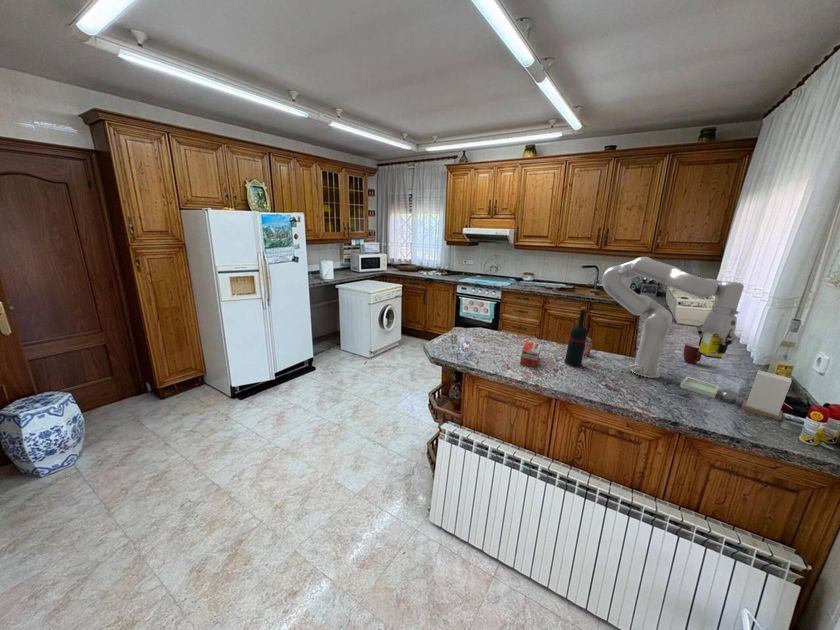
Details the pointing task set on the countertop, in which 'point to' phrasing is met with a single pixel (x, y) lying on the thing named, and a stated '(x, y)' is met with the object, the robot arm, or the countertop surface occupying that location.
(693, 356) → the mug
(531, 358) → the medicine box
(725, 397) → the steel bushing
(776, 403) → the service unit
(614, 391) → the countertop surface
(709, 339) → the supplement box
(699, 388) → the parts tray
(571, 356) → the wine bottle
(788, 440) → the countertop surface
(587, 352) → the lighter
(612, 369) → the countertop surface
